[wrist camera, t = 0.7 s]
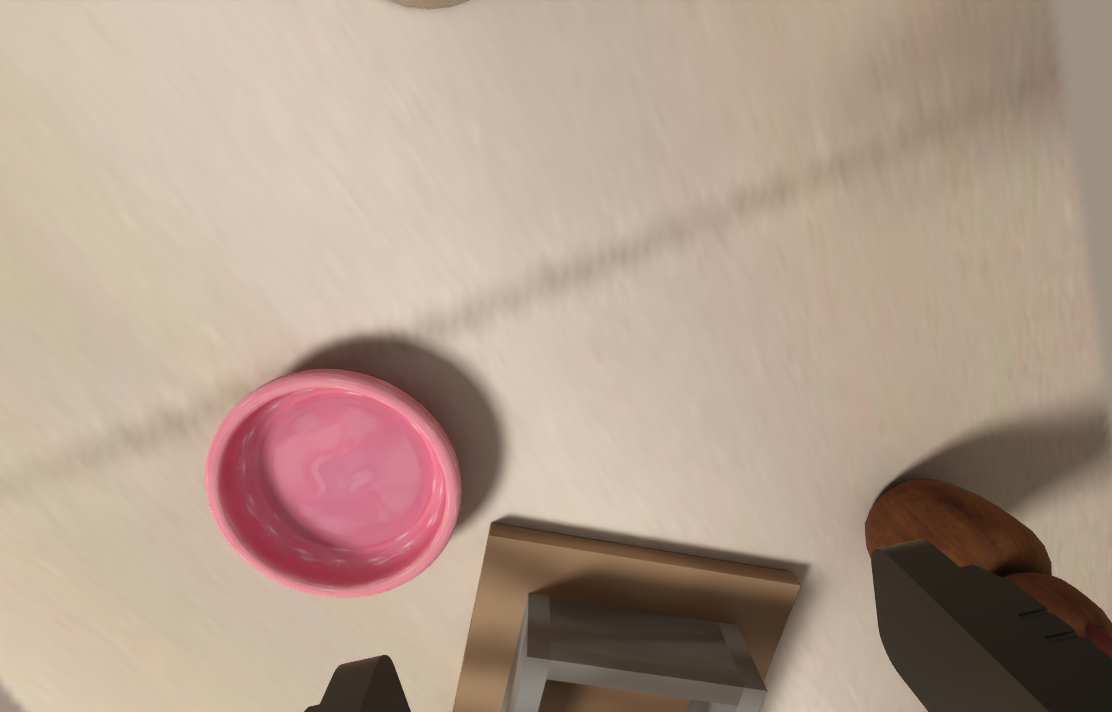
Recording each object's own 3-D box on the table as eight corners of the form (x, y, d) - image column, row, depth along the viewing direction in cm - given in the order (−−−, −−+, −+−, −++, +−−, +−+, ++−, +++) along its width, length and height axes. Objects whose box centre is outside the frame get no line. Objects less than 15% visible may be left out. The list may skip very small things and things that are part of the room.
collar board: (490, 522, 32) (481, 592, 27) (791, 571, 34) (841, 646, 28) (442, 760, 37) (426, 859, 32) (706, 792, 39) (734, 892, 33)
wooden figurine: (907, 442, 31) (1219, 659, 17) (978, 493, 33) (1326, 738, 18) (824, 530, 33) (1047, 798, 19) (895, 577, 34) (1156, 863, 20)
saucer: (265, 321, 29) (233, 337, 26) (499, 403, 30) (494, 427, 27) (213, 523, 32) (179, 559, 29) (426, 588, 33) (416, 627, 30)
